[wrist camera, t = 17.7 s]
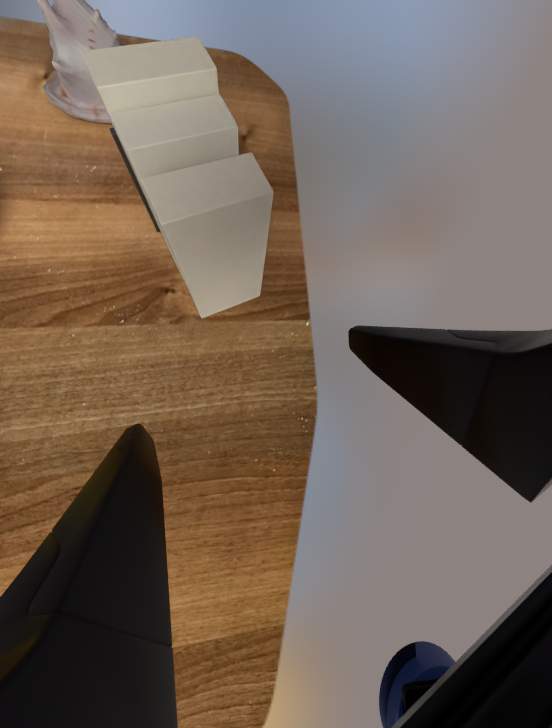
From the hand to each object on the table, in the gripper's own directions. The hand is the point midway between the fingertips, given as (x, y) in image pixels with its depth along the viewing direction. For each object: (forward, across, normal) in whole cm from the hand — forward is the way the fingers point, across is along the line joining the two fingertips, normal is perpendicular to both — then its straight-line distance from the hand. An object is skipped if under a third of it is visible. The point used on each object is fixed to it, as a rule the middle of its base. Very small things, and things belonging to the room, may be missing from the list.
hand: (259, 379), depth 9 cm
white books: (+22, -3, -3) cm, 22 cm away
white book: (+17, -3, +1) cm, 18 cm away
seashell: (+37, -1, -20) cm, 42 cm away
